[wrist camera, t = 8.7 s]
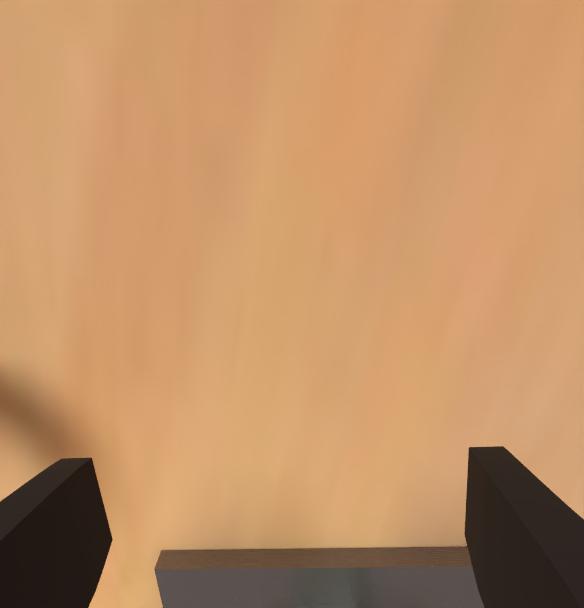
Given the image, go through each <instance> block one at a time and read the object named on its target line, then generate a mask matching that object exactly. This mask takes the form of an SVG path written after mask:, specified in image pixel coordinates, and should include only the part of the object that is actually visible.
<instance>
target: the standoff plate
mask: <svg viewBox="0 0 584 608" xmlns="http://www.w3.org/2000/svg"><path fill="white" fill-rule="evenodd" d="M155 574H156V578H157V583H158V587H159V592H160V596H161V600H162V605H163V608H484V605H483V602H482V600H481V597H480V594H479V591H478V587H477V583H476V579H475V575H474V571H473V567H472V563H471V559H470V555H469V551H468V547H410V548H328V549H246V550H165V551H161V553H160V556H159V558H158V561H157V564H156V566H155Z"/></svg>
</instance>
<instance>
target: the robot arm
mask: <svg viewBox="0 0 584 608" xmlns="http://www.w3.org/2000/svg"><path fill="white" fill-rule="evenodd" d="M465 538H466V542H467V546H468V551H469V555H470V559H471V563H472V567H473V571H474V575H475V579H476V583H477V587H478V591H479V594H480V597H481V600H482V602H483V605H484V608H584V519H582V518H581V517H580V516H579V515H578V514H577V513H575V512H574V511H573V510H572V509H571V508H570V507H569V506H568V505H566V504H565V503H564V502H563V501H562V500H561V499H560V498H559V497H558V496H556V495H555V494H554V493H553V492H552V491H551V490H550V489H549V488H548V487H547V486H546V485H544V484H543V483H542V482H541V481H540V480H539V479H538V478H537V477H536V476H535V475H534V474H533V473H531V472H530V471H529V470H528V469H527V468H526V467H525V466H524V465H523V464H522V463H521V462H520V461H519V460H517V459H516V458H515V457H514V456H513V455H512V454H511V453H510V452H509V451H508V450H507V449H506V448H504V447H503V446H501V447H469V458H468V478H467V499H466V519H465ZM111 543H112V536H111V532H110V528H109V524H108V520H107V516H106V512H105V508H104V504H103V500H102V497H101V493H100V489H99V485H98V481H97V477H96V473H95V469H94V465H93V461H92V458H68V459H61V460H59V461H57V462H56V463H54V464H53V465H51V466H50V467H48V468H47V469H45V470H44V471H42V472H41V473H39V474H38V475H36V476H35V477H34V478H32V479H31V480H29V481H28V482H27V483H25V484H24V485H23V486H21V487H20V488H18V489H17V490H16V491H14V492H13V493H12V494H10V495H9V496H7V497H6V498H5V499H3V500H2V501H1V502H0V608H88V607H89V605H90V602H91V600H92V598H93V596H94V593H95V591H96V588H97V585H98V582H99V580H100V577H101V574H102V571H103V568H104V565H105V562H106V558H107V555H108V552H109V549H110V546H111Z"/></svg>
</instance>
